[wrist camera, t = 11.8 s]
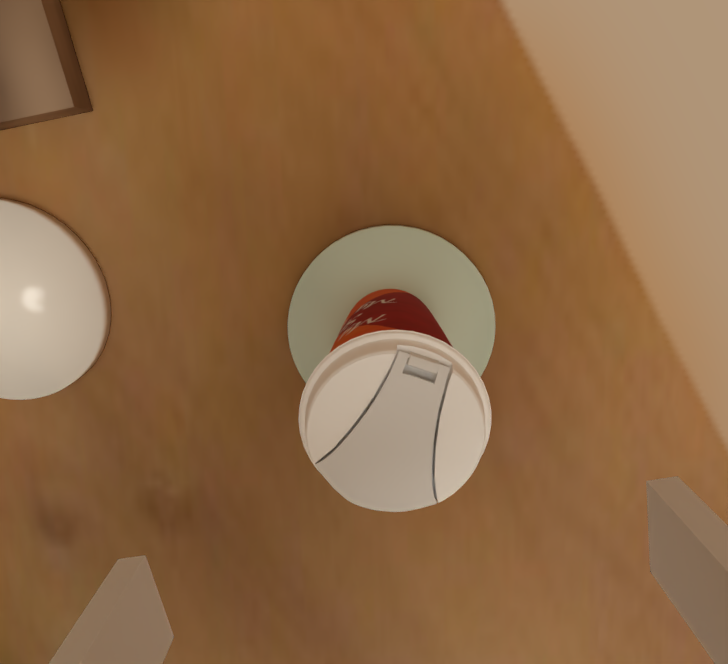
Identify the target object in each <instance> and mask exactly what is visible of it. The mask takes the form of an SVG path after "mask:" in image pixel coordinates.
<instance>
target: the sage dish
mask: <svg viewBox="0 0 728 664" xmlns="http://www.w3.org/2000/svg"><path fill="white" fill-rule="evenodd" d="M382 289H398V290H402V291H406V292H408V293H410V294H412V295H414V296H416V297H417V298H418V299H420V300H421V301H422V302H423V303H424V304H425V305H426V306H427V308H428V309H429V310H430V312H431V313H432V315H433V316H434V318H435V319H436V321H437V322H438V324H439V325H440V327H441V329H442V330H443V332H444V333H445V335H446V337H447V338H448V340H449V342H450V343H451V345H452V346H453V348H455V349H456V350H457V351H458V352H460V353H461V354H462V355H463V356H464V357H465V358H466V359H467V360H468V361H469V362H470V363H471V364H472V366H473V367H474V368H475V369H476V371H477V372H478V374H479V376H480V377H481V375H482V373H483V372H484V370H485V368H486V366H487V364H488V361H489V358H490V356H491V353H492V348H493V344H494V338H495V313H494V307H493V302H492V299H491V296H490V293H489V290H488V287H487V285H486V283H485V281H484V279H483V277H482V276H481V274H480V273H479V271H478V270H477V269H476V267H475V266H474V264H473V263H472V262H471V261H470V260H469V259H468V258H467V257H466V256H465V255H464V254H463V253H462V252H461V251H460V250H459V249H457V248H456V247H455V246H454V245H453V244H451V243H450V242H448V241H447V240H445V239H443V238H442V237H440V236H438V235H436V234H433V233H431V232H429V231H426V230H423V229H419V228H416V227H411V226H405V225H379V226H372V227H368V228H364V229H360V230H357V231H355V232H352V233H350V234H347V235H345V236H344V237H342V238H340V239H338V240H336V241H335V242H333V243H332V244H331V245H329V246H328V247H327V248H325V249H324V250H323V251H322V252H321V253H320V254H319V255H318V256H317V257H316V258H315V259H314V260H313V262H312V263H311V264H310V266H309V267H308V268H307V269H306V271H305V272H304V274H303V275H302V277H301V279H300V281H299V282H298V284H297V286H296V289H295V291H294V294H293V296H292V300H291V304H290V308H289V314H288V340H289V346H290V350H291V354H292V357H293V360H294V362H295V365H296V367H297V369H298V371H299V373H300V375H301V376H302V378H303V380H304V381H305V383H307V381H308V379H309V377H310V376H311V374H312V373H313V371H314V369H315V368H316V366H317V365H318V364H319V363H320V362H321V361H322V360H323V359H324V358H325V357H326V356H327V355H328V354H329V353H330V351H331V349H332V347H333V344H334V342H335V340H336V338H337V336H338V334H339V332H340V330H341V328H342V326H343V324H344V322H345V320H346V318H347V317H348V315H349V313H350V311H351V310H352V308H353V307H354V306H355V305H356V304H357V303H358V301H360V300H361V299H362V298H363V297H365V296H366V295H368V294H370V293H372V292H375V291H378V290H382Z"/></svg>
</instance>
